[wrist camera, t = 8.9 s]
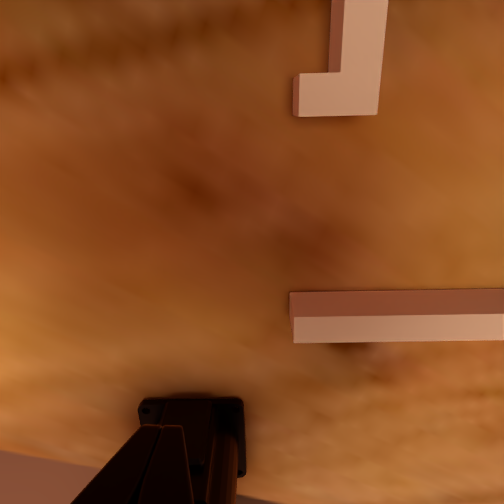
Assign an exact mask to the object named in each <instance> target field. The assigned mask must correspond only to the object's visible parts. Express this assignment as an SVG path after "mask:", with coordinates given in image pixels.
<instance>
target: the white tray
mask: <svg viewBox="0 0 504 504" xmlns="http://www.w3.org/2000/svg"><path fill="white" fill-rule="evenodd" d="M387 9H388V0H332V2H331V23H330V43H329V63H328V73H302V74H299V75H297V76H296V77H295V78H293V116H297V117H313V116H351V115H377V110H378V99H379V89H380V79H381V69H382V59H383V49H384V39H385V29H386V19H387ZM289 318H290V324H291V330H292V336H293V342H294V343H338V342H406V341H474V340H504V289H446V290H389V291H331V292H290V300H289Z"/></svg>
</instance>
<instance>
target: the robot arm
mask: <svg viewBox="0 0 504 504" xmlns="http://www.w3.org/2000/svg"><path fill="white" fill-rule="evenodd" d="M234 407H238V408H234ZM146 408H148V409H146ZM138 414H139V419H140V425H141V427H140V428H139V429H138V430H137V431H136V432H135V433H134V434H133V435H132V436H131V438H130V439H129V440H128V441H127V442H126V443H125V444H124V445H123V446H122V447H121V448H120V450H119V451H118V452H117V453H116V454H115V455H114V456H113V457H112V458H111V459H110V461H109V462H108V463H107V464H106V465H105V466H104V467H103V468H102V469H101V470H100V472H99V473H98V474H97V475H96V476H95V477H94V478H93V479H92V480H91V482H89V484H88V485H87V486H86V487H85V488H84V489H83V490H82V491H81V492H80V493H79V495H78V496H77V497H76V498H75V499H74V500H73V501H72V502H71V504H236V488H237V478H240V477H244V476H245V475H246V444H245V421H244V404H243V402H242V401H241V400H239V399H165V400H143V401H142V402H141V403H140V405H139V408H138Z"/></svg>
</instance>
